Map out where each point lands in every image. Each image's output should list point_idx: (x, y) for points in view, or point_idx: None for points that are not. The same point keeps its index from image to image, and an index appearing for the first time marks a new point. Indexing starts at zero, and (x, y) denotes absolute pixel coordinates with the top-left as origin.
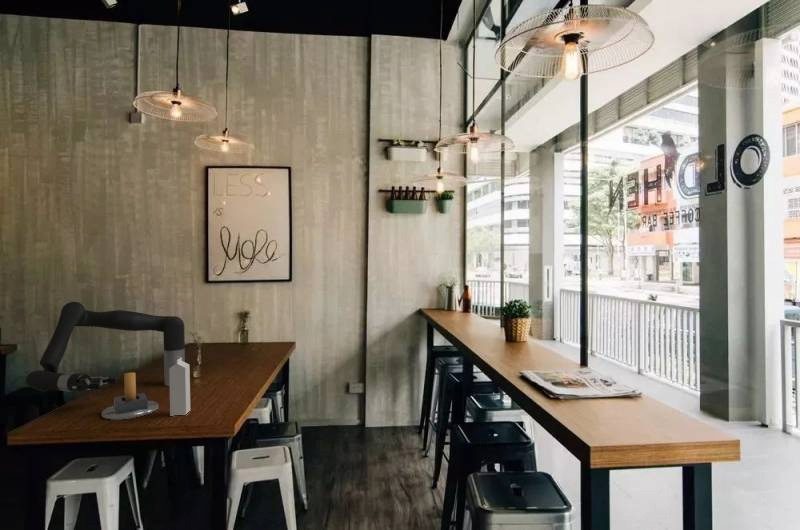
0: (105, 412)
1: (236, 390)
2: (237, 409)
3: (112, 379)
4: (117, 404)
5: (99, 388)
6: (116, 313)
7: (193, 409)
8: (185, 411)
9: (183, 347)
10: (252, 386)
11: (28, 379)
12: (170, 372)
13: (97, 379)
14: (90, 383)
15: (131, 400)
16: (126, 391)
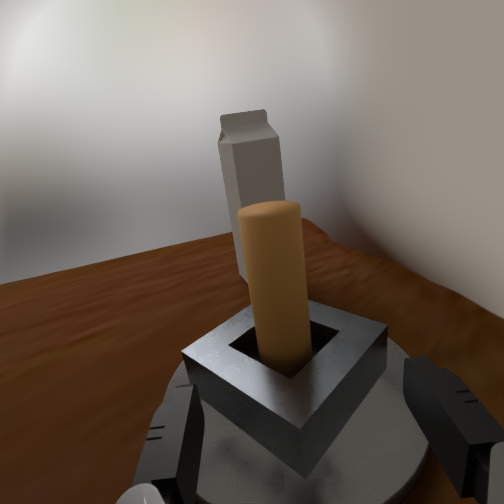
0: (403, 436)
1: (48, 293)
2: (217, 239)
3: (192, 413)
4: (379, 325)
5: (408, 392)
6: None
7: (225, 277)
8: None
9: None
10: (18, 288)
11: None
12: (279, 149)
13: None
14: (494, 448)
15: (312, 313)
16: (307, 296)
